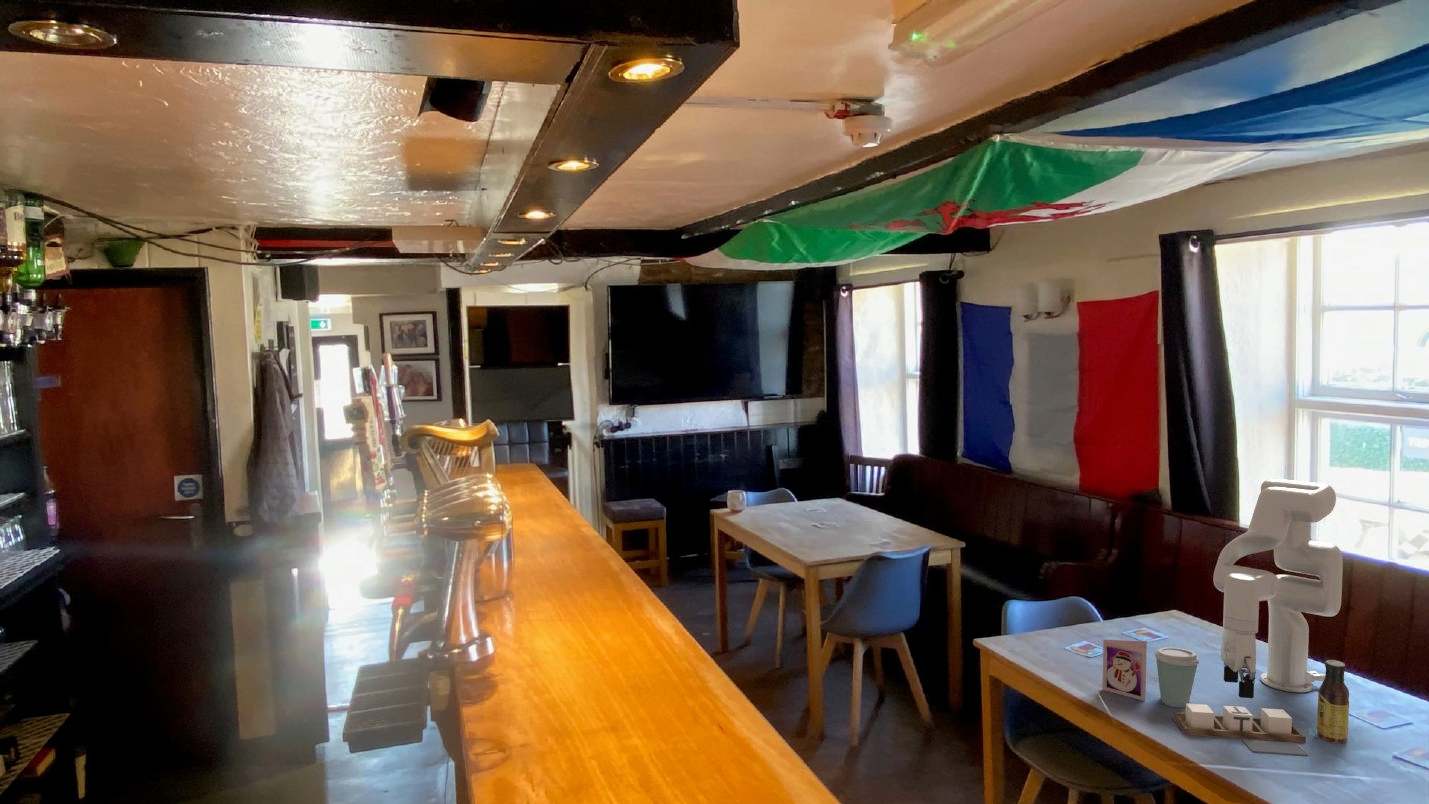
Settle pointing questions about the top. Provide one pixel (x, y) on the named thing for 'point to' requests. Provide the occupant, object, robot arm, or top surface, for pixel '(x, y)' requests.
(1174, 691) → the disposable coffee cup
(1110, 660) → the greeting card
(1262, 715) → the blank cube
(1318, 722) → the sauce bottle
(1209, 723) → the blank cube
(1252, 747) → the slate mat
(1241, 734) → the organizer
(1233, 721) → the lettered cube
